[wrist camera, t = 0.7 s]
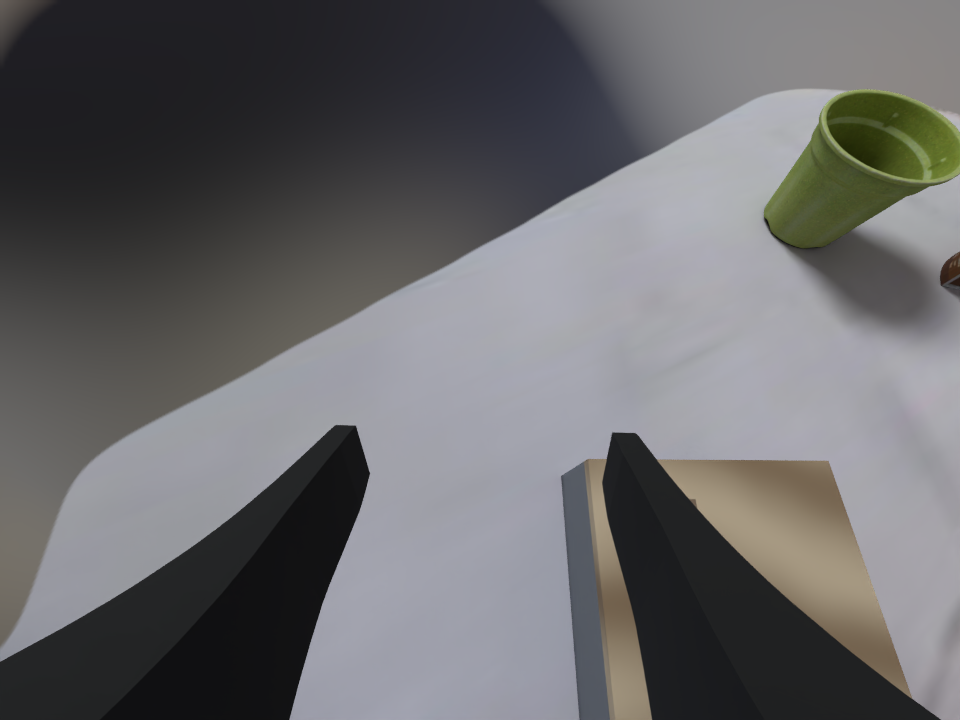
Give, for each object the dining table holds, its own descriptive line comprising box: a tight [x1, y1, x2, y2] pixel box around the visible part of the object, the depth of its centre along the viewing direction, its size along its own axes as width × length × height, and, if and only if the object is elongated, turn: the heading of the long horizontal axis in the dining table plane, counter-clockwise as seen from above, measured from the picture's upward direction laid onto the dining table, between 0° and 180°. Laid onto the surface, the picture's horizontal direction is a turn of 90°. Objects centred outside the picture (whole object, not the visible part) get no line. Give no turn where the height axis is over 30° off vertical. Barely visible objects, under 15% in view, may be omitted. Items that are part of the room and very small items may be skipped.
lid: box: [584, 459, 912, 720], centre depth 16 cm, size 14×12×3 cm
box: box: [561, 462, 610, 720], centre depth 20 cm, size 14×12×6 cm
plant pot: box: [764, 89, 960, 248], centre depth 30 cm, size 9×9×9 cm
